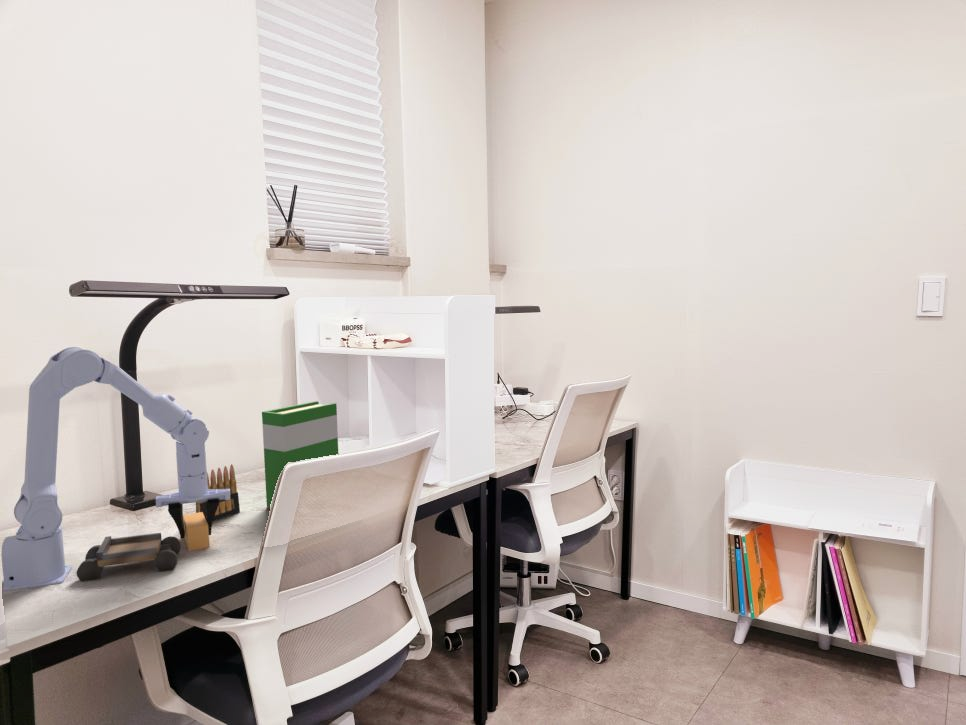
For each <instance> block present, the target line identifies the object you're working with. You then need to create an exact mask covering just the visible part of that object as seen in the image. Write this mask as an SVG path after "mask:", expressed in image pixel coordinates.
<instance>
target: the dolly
mask: <svg viewBox="0 0 966 725" xmlns="http://www.w3.org/2000/svg"><path fill="white" fill-rule="evenodd" d="M181 546H182V544H181V541H180V539H179V538H177V537H175V536H167V537H164V538H163V539H162V532H155V533H148V534H140V535H139V534H138V535H130V536H122V537H112V535H111V536H109V535H108V536H105V537H104V539H103V540H102V542H101V544H97V545H94V546H91V547H90V548H89V549H88V550H87V552H86V553H85V558H84V559H85V560H84V561H82V562H81V563H80V564H79V566H78V568H77V570H76V575H77V576H76V577H77V579H78V580H79V581H81V582H90V581H91V582H92V581H97V580H98V579H99V578H100V577H101V575H102V573H103V567H107V566H109V567H110V566H115V565H125V564H131V563H133V564H134V563H141V562H147V561H153V560H154V562H153V565H154V568H155V569H156V570H157V571H158V572H161V573H162V572H169V571H173V570H174V569H175V568H176V566H177V564H178V560H179V558H178V555H179V553H180V551H181V548H182V547H181Z"/></svg>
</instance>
